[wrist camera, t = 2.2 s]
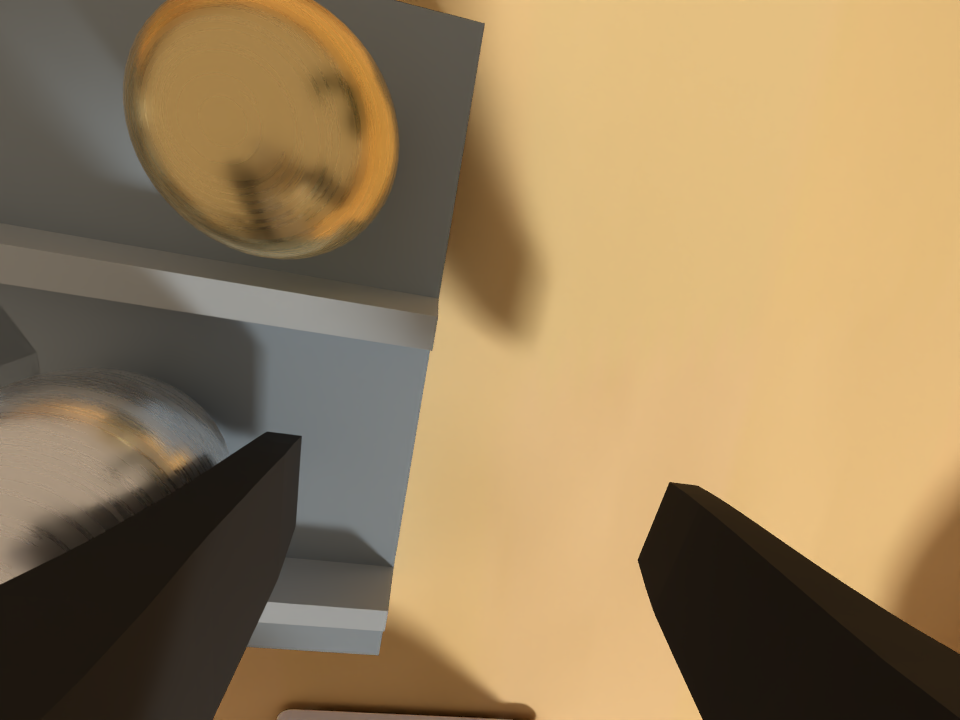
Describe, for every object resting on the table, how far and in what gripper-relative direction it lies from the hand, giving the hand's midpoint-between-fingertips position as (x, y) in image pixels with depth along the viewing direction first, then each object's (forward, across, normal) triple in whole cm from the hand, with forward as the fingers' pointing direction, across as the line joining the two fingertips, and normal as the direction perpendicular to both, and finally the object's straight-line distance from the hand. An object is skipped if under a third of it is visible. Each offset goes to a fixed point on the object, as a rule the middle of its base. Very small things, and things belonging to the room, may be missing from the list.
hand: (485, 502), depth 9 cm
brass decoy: (0, +4, -6) cm, 7 cm away
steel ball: (-1, +6, 0) cm, 7 cm away
